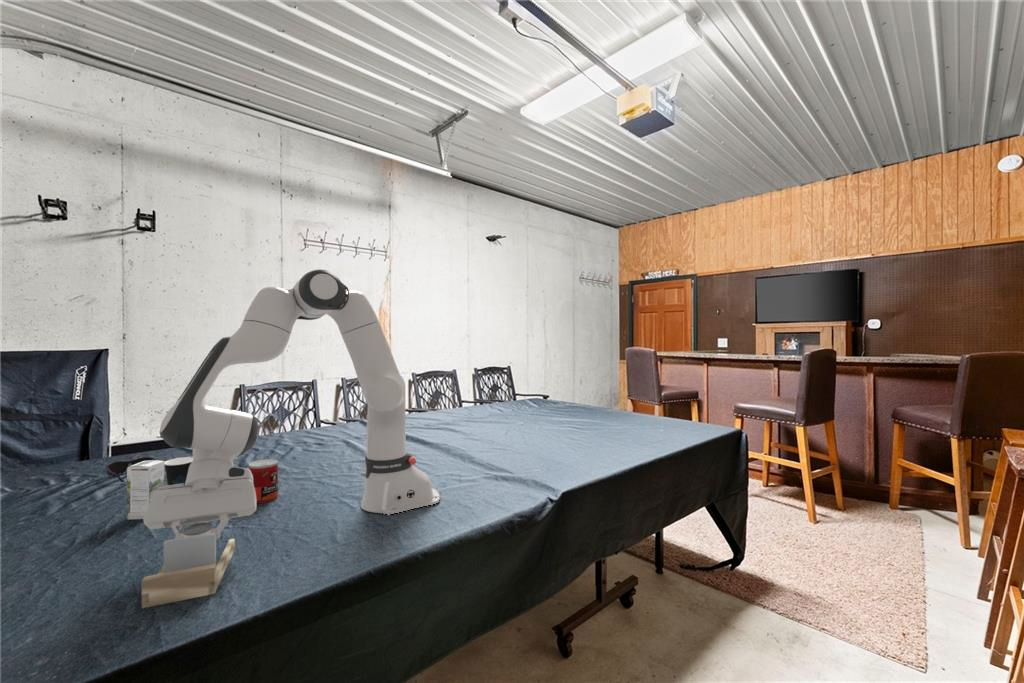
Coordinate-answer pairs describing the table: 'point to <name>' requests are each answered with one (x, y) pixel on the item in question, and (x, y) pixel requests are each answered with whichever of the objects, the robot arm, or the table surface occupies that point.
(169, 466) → the dixie cup
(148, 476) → the syrup box
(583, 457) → the table surface
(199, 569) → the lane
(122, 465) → the sunglasses
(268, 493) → the canned food
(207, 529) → the jar
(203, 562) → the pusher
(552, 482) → the table surface
